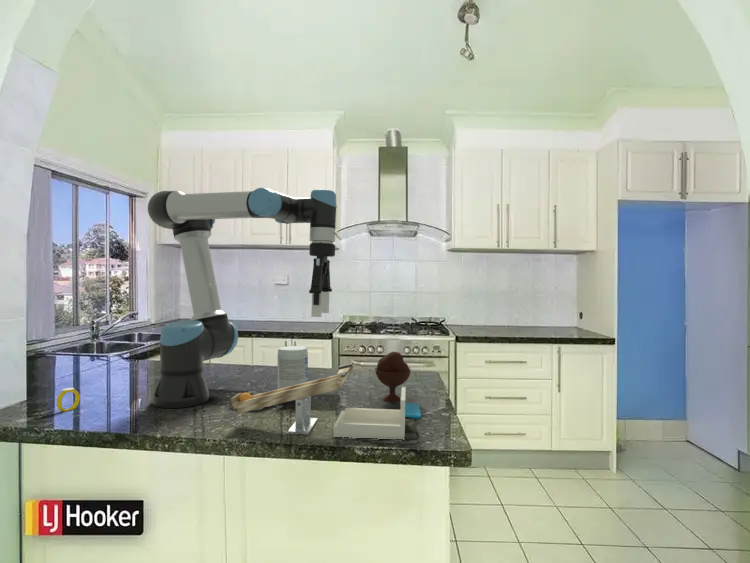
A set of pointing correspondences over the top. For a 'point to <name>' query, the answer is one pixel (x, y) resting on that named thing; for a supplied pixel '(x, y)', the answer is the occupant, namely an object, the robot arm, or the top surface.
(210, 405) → the top surface
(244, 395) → the ball
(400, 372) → the ice cream bowl
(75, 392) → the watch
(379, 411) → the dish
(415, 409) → the sponge
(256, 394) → the egg carton
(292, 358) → the supplement tub
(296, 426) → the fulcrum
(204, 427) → the top surface
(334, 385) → the beige angled channel
